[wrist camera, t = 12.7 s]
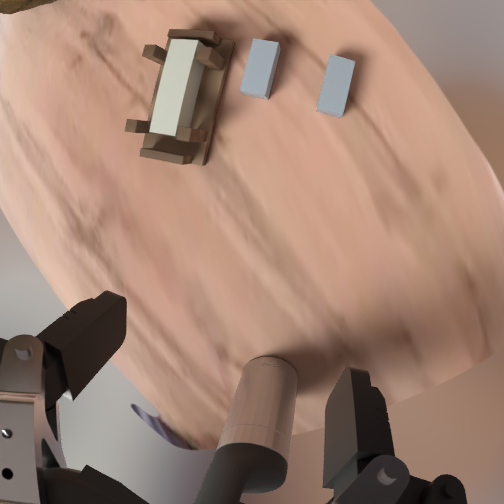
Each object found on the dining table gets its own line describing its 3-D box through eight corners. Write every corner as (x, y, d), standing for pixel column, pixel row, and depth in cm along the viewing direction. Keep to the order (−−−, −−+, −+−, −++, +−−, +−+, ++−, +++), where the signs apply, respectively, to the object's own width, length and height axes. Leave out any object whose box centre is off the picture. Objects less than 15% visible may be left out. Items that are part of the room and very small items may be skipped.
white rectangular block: (209, 49, 32) (198, 40, 28) (188, 136, 36) (175, 136, 33) (184, 47, 32) (171, 39, 29) (163, 132, 37) (149, 131, 33)
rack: (205, 165, 38) (185, 168, 32) (145, 152, 39) (119, 155, 33) (234, 42, 32) (220, 24, 26) (172, 38, 33) (150, 23, 27)
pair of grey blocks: (340, 118, 33) (342, 115, 31) (244, 94, 34) (239, 90, 32) (352, 67, 31) (355, 61, 28) (257, 46, 32) (253, 38, 29)
